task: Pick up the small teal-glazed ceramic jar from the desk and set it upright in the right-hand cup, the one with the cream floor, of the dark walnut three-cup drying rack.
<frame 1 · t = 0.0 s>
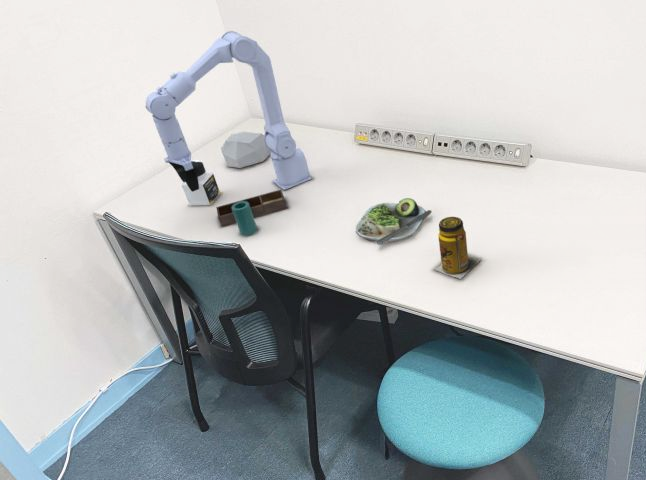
hand: (191, 185, 168), 10 cm above the table, tool pointing down, fingers open, 7 cm apart
salad plate: (393, 225, 156), on the table
condiment: (458, 266, 139), on the table
rock: (255, 157, 202), on the table
medicine bottle: (205, 200, 182), on the table
jar: (249, 231, 164), on the table
rack: (253, 212, 172), on the table
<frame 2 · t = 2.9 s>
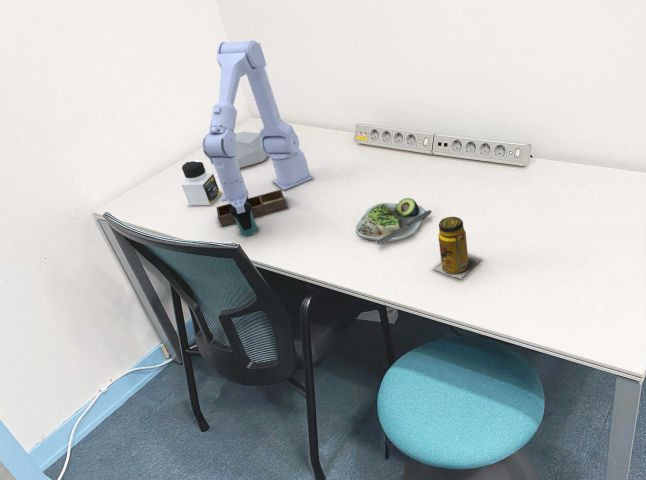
hand: (246, 224, 162), 2 cm above the table, tool pointing down, fingers closed on jar, 4 cm apart
jar: (249, 231, 164), on the table, touching gripper
everything else where it was.
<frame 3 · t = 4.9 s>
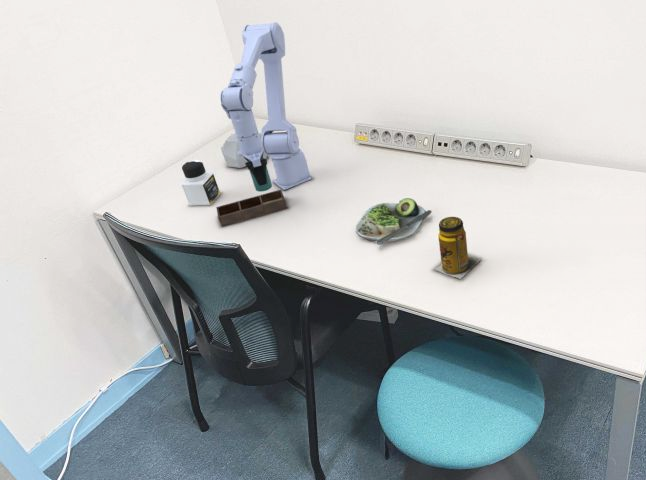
hand: (261, 180, 166), 9 cm above the table, tool pointing down, fingers closed on jar, 4 cm apart
jar: (263, 187, 167), point 7 cm above the table, touching gripper
everything else where it was.
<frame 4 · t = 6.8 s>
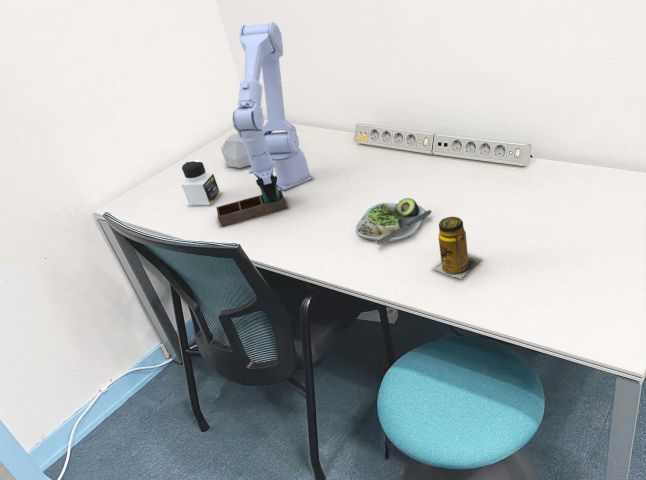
hand: (271, 196, 171), 3 cm above the table, tool pointing down, fingers closed on jar, 4 cm apart
jar: (273, 203, 172), point 1 cm above the table, touching gripper
everything else where it was.
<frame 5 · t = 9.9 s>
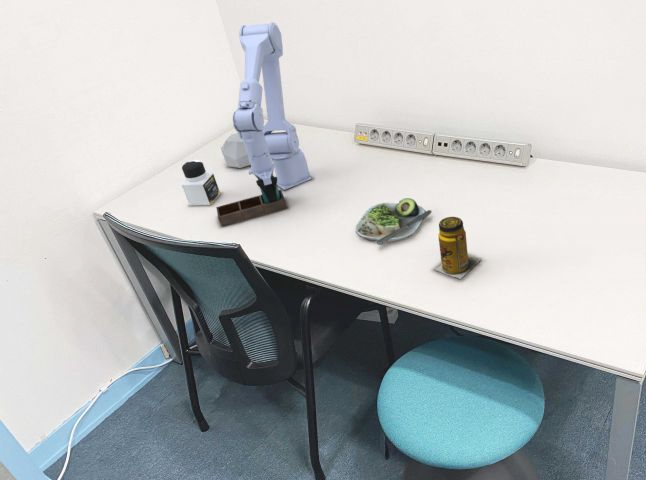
hand: (271, 197, 171), 3 cm above the table, tool pointing down, fingers closed on jar, 5 cm apart
jar: (273, 203, 172), point 1 cm above the table, touching gripper
everything else where it was.
when the fingers open (4 cm above the table, at t = 12.6 s): jar drops 1 cm, resting on rack.
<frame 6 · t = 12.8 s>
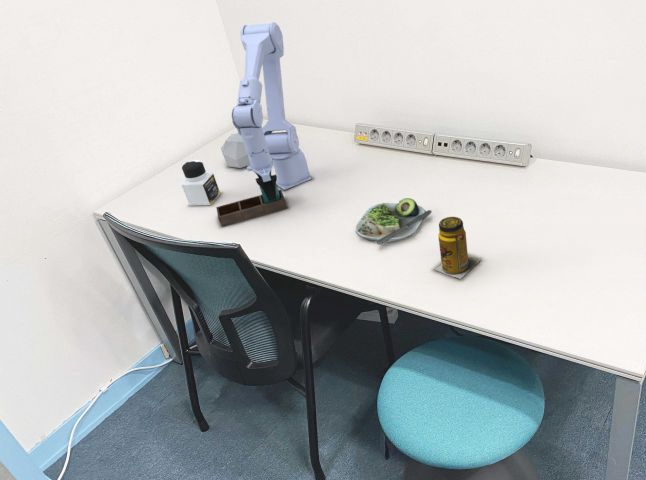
hand: (270, 194, 170), 4 cm above the table, tool pointing down, fingers open, 6 cm apart
jar: (273, 204, 172), point 1 cm above the table, touching rack
everything else where it was.
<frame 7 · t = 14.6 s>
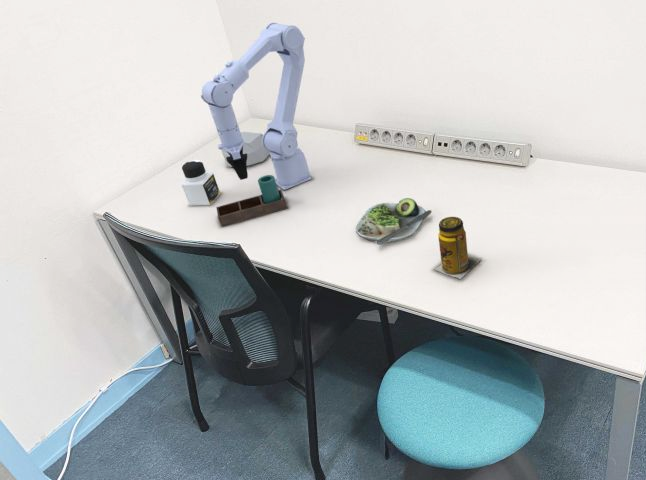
hand: (242, 173, 171), 9 cm above the table, tool pointing down, fingers open, 7 cm apart
nothing on the table moved.
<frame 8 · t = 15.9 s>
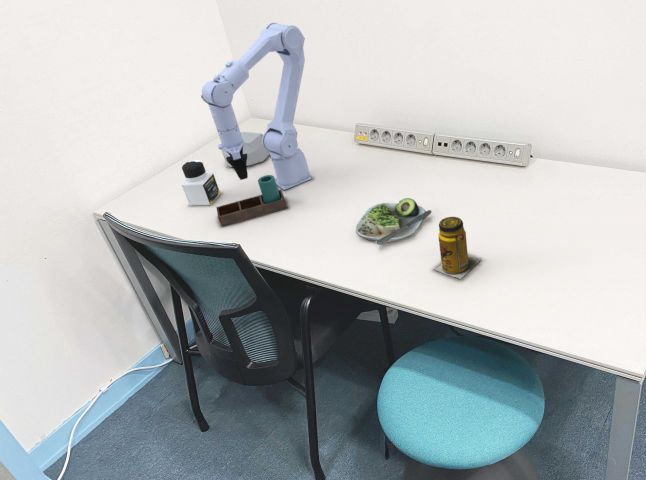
hand: (242, 173, 171), 9 cm above the table, tool pointing down, fingers open, 7 cm apart
nothing on the table moved.
at the end: jar 0.1 cm from the target spot in the rack, point 0.7 cm above the rack's base; jar tilted 0°; the gripper is holding nothing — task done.
